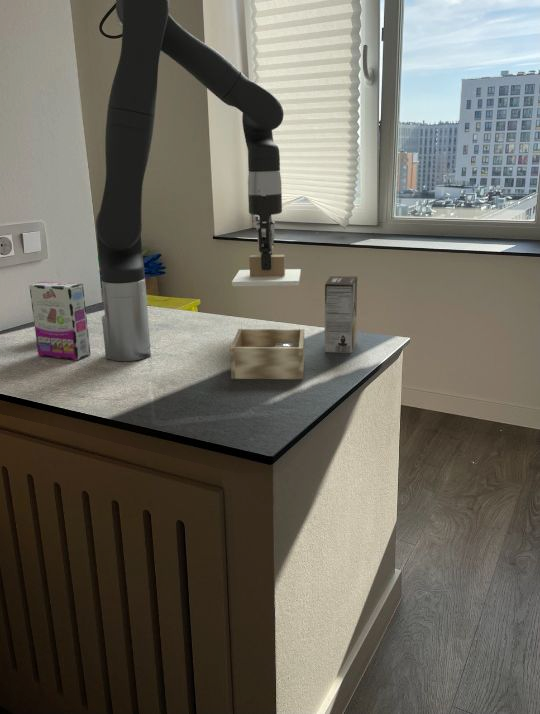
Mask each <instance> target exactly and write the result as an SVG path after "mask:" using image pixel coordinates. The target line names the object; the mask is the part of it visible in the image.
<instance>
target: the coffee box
mask: <svg viewBox="0 0 540 714" xmlns="http://www.w3.org/2000/svg"><path fill="white" fill-rule="evenodd" d="M357 300H358V276H340V275H339V276H329V277H328V279H327V281H326V282H325V285H324V352H325V353H345V354H353V352H354V349H355V348H356V343H357V312H358V311H357V305H358V303H357V302H358V301H357Z"/></svg>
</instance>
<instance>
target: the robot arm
mask: <svg viewBox="0 0 540 714" xmlns="http://www.w3.org/2000/svg"><path fill="white" fill-rule="evenodd" d="M115 11H116V15H117V18H118V19H119V22H120V23H121V25H122V28H121V29H122V31H121V33H122V34H121V47H120V49H121V51H120V55H119V60H118V64H117V67H116V70H115V74H114V76H113V77H114V78H113V79H112V80H113V81H112V85H111V89H110V94H109V98H108V104H107V111H106V112H107V113H106V123H105V141H104V142H105V146H104V147H105V148H104V149H105V150H104V151H105V152H104V153H105V154H104V155H105V183H104V190H103V193H102V194H103V195H102V200H101V204H100V209H99V212H98V214H97V216H96V219H95V229H96V230H95V231H96V240H97V248H98V249H97V250H98V259H99V260H98V261H99V272H100V280H101V289H102V298H103V301H102V302H103V311H104V315H102V317H101V325H102V334H103V344H104V353H105V359H106V360H112V361H116V362H117V361H118V362H132V361H133V362H134V361H139V360H143V359H146V358H148V357H150V356H151V352H152V351H151V348H152V347H151V339H150V337H151V335H150V327H149V325H150V324H149V315H148V314H149V310H148V297H147V287H146V286H147V285H146V275H145V264H144V256H143V245H142V230H143V227H142V226H143V224H142V203H143V201H142V200H143V185H144V180H145V179H144V178H145V174H146V170H147V167H148V162H149V156H150V152H151V145H152V140H153V133H154V125H155V117H156V108H157V107H156V105H157V104H156V103H157V94H158V79H159V78H158V76H159V74H158V73H159V61H160V55H161V52H162V53H163V54H165V55H167V56H168V57H169V58H170V59H172V60H174V61H175V62H176V63H177V64H178V65H179V66H181V67H182V68H183V69H184V70H185V71H186V72H188V73H189V75H191V76H192V77H194V78H195V79H196V80H197V81H198V82H200V83H201V84H202V85H203V86H204V87H205V88H207V89H208V91H210V92H211V93H212V94H213V95H214V96H215V97H217V98H218V99H219V100H220V101H221V102H223V103H224V104H225V105H227V106H228V107H229V106H230V107H233V108H236V109H237V110H239V111H240V112H241V113H242V116H241V117H242V118H241V119H242V122H241V123H242V129H243V135H244V139H245V140H244V141H245V144H246V148H247V155H248V156H247V162H248V166H247V167H248V176H247V194H248V196H247V197H248V201H247V202H248V213H249V214H250V215H253V216H259V221H257V223H256V231H257V243H258V251H259V253H260V254H259V255H261V267H262V270H271V255H273V251H274V245H275V244H274V241H275V228H276V222H275V221H273V219H272V215H273V216H274V215H279V214H281V213H282V212H283V200H282V196H283V194H282V193H283V192H282V191H283V190H282V177H281V161H280V160H281V159H280V158H281V156H280V149H279V146H278V145H277V144H276V143H275V142H274V138H273V137H274V134H273V131H274V130H276V129H277V128H278V127H280V125H281V124H282V123H283V120H284V109H283V106H282V104H281V102H280V101H279V99H278V98H276V96H274V95H273V94H272V93H271V92H269V91H268V90H266V89H265V88H264V87H262V86H261V85H259V84H258V83H256V82H255V81H252V80H251V79H250V78H248V77H247V76H246V75H245V74H244V73H243V72H242V71H241V70H239V69H238V68H237V67H236V65H234V64H233V63H232V62H231V61H230V60H229V59H228V58H226V57H225V56H224V55H222V54H221V53H220V52H219V51H217V50H216V49H214V48H213V47H212V46H211V45H208V44H207V43H205V42H203V41H201V40H200V39H198V38H197V37H196V36H194V35H193V34H191V33H190V32H188V31H187V30H186V29H185V28H183V26H182V25H180V24H179V23H178V22H177V21H176V20H175V19H174V18H173V17H172V16H171V14H170V0H115Z"/></svg>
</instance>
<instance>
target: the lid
mask: <svg viewBox="0 0 540 714" xmlns="http://www.w3.org/2000/svg"><path fill="white" fill-rule="evenodd" d="M248 260H249V269H239V270H238V272H237V273H236V275H235V276H234V278H233V279H232V280H231V287H274V286H275V287H276V286H277V287H279V286H281V287H282V286H287V287H288V286H291V287H292V286H295V287H296V286H300V280H301V273H302V269H301V268H289V269H288V268H286V254H272V255H271V270H262V267H261V254H251V255H249V258H248Z"/></svg>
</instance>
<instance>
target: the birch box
mask: <svg viewBox="0 0 540 714" xmlns="http://www.w3.org/2000/svg"><path fill="white" fill-rule="evenodd" d="M234 336H235V337H234V338H233V341H232V343H231V346H230V348H229V352H230V353H229V354H230V355H229V356H230V357H229V358H230V375H231V378H230V379H232V380H304V373H305V372H304V368H305V329H304V328H295V329H293V328H284V329H283V328H277V329H276V328H253V329H252V328H238V329H237V331H236V335H234ZM279 342H291V343H294V347H275V344H276V343H279Z"/></svg>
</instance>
